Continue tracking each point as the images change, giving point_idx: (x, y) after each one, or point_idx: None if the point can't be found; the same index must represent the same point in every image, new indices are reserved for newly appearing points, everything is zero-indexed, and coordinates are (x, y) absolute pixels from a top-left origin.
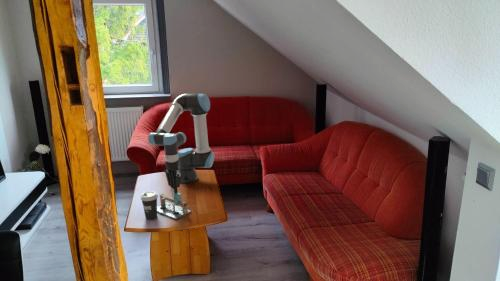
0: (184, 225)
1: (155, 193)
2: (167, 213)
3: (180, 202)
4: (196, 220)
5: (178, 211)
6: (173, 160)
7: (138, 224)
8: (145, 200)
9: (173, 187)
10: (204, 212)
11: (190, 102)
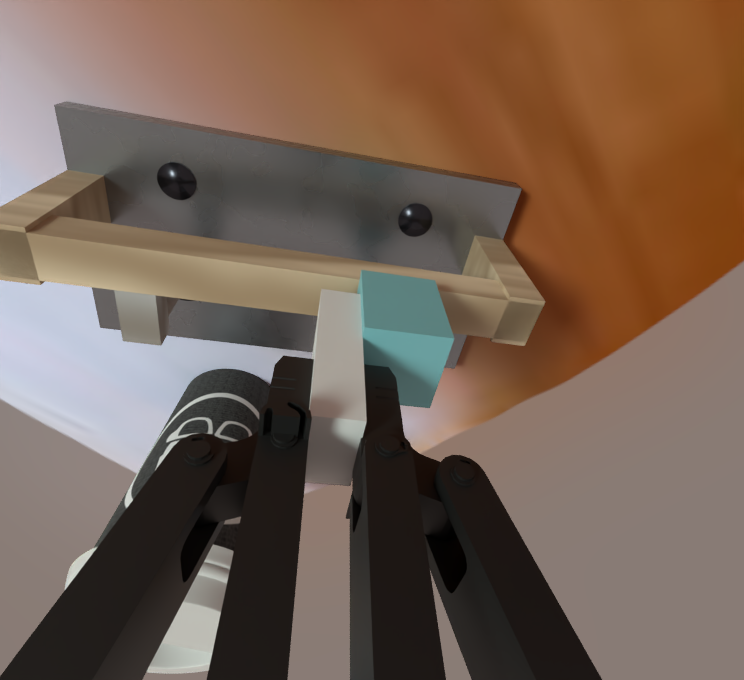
0: (558, 385)
1: (216, 614)
2: None
3: (455, 329)
4: (632, 292)
5: (392, 261)
6: None
7: None
8: None
9: (353, 502)
10: (675, 112)
11: None
